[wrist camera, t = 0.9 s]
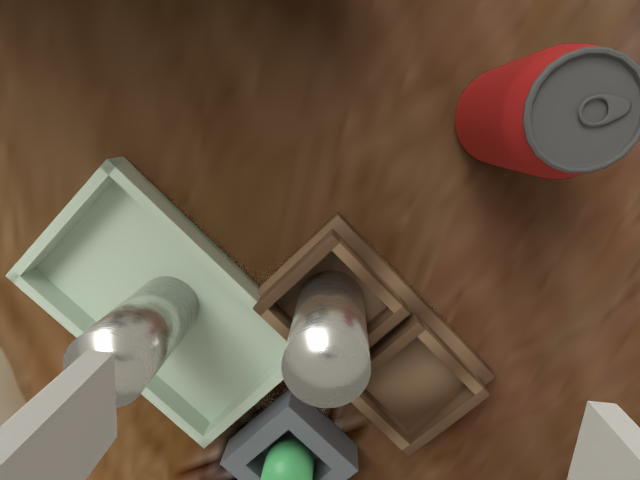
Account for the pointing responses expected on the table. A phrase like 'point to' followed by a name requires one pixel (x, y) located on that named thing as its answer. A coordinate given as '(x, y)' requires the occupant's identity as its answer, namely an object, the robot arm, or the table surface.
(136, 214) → the tray
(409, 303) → the tray
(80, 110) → the table surface
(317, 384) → the cylinder
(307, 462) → the button
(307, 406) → the grey square button housing
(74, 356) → the cylinder
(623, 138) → the beer can
